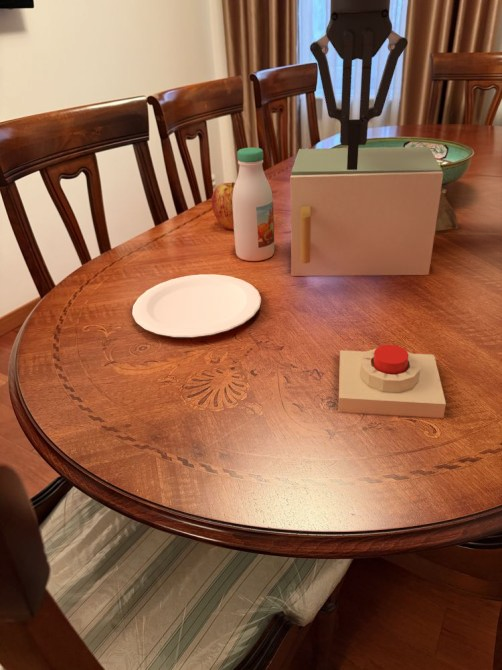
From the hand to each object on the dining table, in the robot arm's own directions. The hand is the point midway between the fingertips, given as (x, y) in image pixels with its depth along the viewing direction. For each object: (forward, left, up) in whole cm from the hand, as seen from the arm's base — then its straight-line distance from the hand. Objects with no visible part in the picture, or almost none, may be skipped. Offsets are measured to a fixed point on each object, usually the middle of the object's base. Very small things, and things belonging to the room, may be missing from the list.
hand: (352, 167), depth 78 cm
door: (-2, -3, -20) cm, 21 cm away
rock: (-17, -26, -21) cm, 38 cm away
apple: (+25, -29, -21) cm, 43 cm away
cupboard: (-2, -15, -20) cm, 25 cm away
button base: (-5, +27, -20) cm, 34 cm away
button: (-5, +27, -17) cm, 32 cm away
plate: (+24, +9, -21) cm, 33 cm away
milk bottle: (+18, -14, -21) cm, 30 cm away
